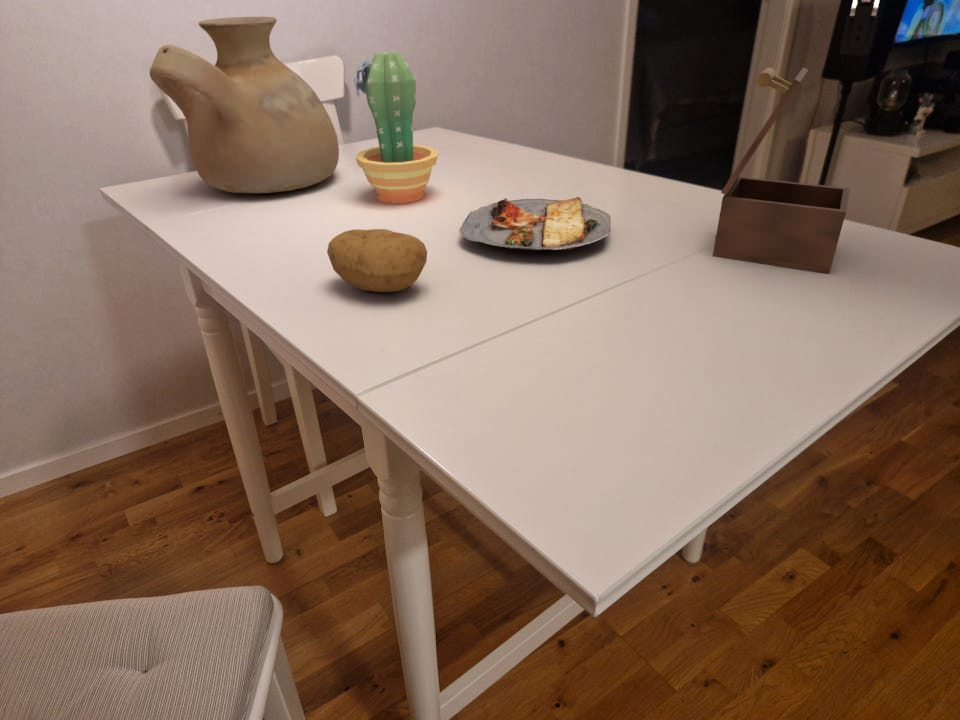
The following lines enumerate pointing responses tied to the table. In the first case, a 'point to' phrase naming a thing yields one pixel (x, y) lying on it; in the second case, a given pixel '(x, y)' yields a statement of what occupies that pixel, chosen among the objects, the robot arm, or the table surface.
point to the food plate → (537, 224)
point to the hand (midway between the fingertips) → (855, 50)
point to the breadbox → (781, 223)
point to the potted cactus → (393, 131)
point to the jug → (248, 111)
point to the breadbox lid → (788, 89)
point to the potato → (377, 259)
